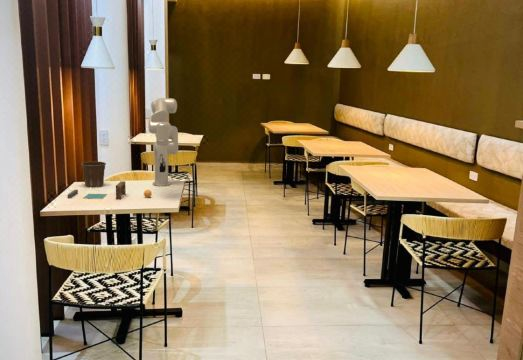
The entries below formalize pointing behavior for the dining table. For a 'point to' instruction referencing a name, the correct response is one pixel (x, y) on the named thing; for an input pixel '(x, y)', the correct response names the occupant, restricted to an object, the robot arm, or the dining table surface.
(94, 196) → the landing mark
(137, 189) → the dining table surface
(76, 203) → the dining table surface
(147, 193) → the ball
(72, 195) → the stopper wall
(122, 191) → the bridge
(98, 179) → the plant pot
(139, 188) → the dining table surface
